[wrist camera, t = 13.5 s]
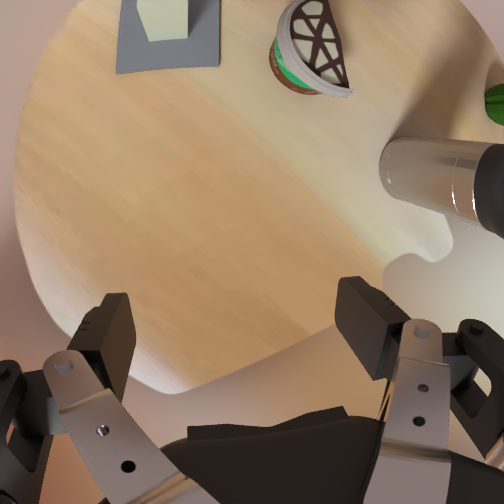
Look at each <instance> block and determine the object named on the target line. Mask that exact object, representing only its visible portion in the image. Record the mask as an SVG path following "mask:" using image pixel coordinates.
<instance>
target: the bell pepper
mask: <svg viewBox="0 0 504 504" xmlns="http://www.w3.org/2000/svg"><path fill="white" fill-rule="evenodd" d="M485 100H486V102H487V104H486V112H487V114H488V116H489V117H490V118H491V119H492V120H493V121H494V122H495V123H497V124H500V125H503V126H504V84H499V85H497V86H494V87H492V88H490V89H489V91H488V92H487V93H486V95H485Z"/></svg>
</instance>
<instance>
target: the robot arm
mask: <svg viewBox="0 0 504 504" xmlns="http://www.w3.org/2000/svg"><path fill="white" fill-rule="evenodd" d="M380 176H381V181H382V183H383V185H384V187H385V189H386V190H387V192H388V193H389V194H390V195H391V196H393V197H395V198H396V199H400V200H403V201H406V202H409V203H412V204H415V205H418V206H421V207H424V208H427V209H430V210H433V211H436V212H439V213H442V214H444V215H447V216H450V217H453V218H456V219H458V220H461V221H464V222H467V223H470V224H472V225H475V226H478V227H480V228H483V229H485V230H488V231H490V232H493V233H495V234H497V235H498V236H500V237H501V238H503V239H504V144H496V143H487V142H477V141H465V140H453V139H438V138H421V137H399V138H396V139H394V140H392V141H391V142H390V143H389V144H388V145H387V146H386V147H385V149H384V151H383V153H382V156H381V160H380ZM335 322H336V326H337V328H338V330H339V331H340V332H341V334H342V335H343V337H344V338H345V340H346V341H347V343H348V344H349V345H350V347H351V349H352V350H353V352H354V353H355V355H356V356H357V357H358V359H359V360H360V362H361V363H362V365H363V366H364V368H365V369H366V371H367V372H368V374H369V375H370V377H371V378H372V380H373V381H375V380H379V379H382V378H386V379H387V382H386V385H385V389H384V393H383V396H382V400H381V404H380V407H379V411H378V414H377V418H376V419H372V418H369V417H362V416H348V415H347V413H346V411H345V410H344V407H343V406H340V407H335V408H330V409H325V410H320V411H315V412H310V413H306V414H304V415H301V416H299V417H296V418H294V419H291V420H288V421H286V422H283V423H280V424H278V425H275V426H272V427H258V426H244V425H234V424H218V425H204V426H188V427H187V433H188V434H187V436H188V437H187V438H183V439H180V440H177V441H174V442H171V443H169V444H167V445H165V446H163V447H161V448H160V449H159V448H158V447H157V446H156V445H155V444H154V443H153V442H152V441H151V439H150V438H149V437H148V436H147V435H146V434H145V433H144V431H143V430H142V429H141V428H140V427H139V425H138V424H137V423H136V422H135V421H134V419H133V418H132V417H131V416H130V414H129V413H128V412H127V410H126V409H125V408H124V407H123V405H122V404H121V403H122V399H123V395H124V390H125V386H126V382H127V377H128V373H129V369H130V365H131V361H132V357H133V353H134V349H135V345H136V331H135V326H134V321H133V317H132V312H131V307H130V302H129V298H128V295H127V293H107V294H106V296H105V297H104V299H103V301H102V303H101V305H100V307H94V308H93V309H91V310H90V311H89V312H88V313H86V315H85V316H84V318H83V320H82V322H81V324H80V325H79V327H78V330H77V331H76V332H75V334H74V336H73V338H72V340H71V342H70V344H69V345H68V347H67V349H66V350H63V351H59V352H57V353H54V354H53V355H51V356H50V357H48V358H47V359H46V361H45V362H44V364H43V369H42V370H36V371H31V372H25V373H23V371H22V370H21V367H20V365H19V364H18V363H17V362H16V361H14V360H3V361H0V504H39V500H40V494H41V488H42V484H43V479H44V474H45V470H46V465H47V461H48V457H49V452H50V448H51V445H52V440H53V437H54V435H56V434H62V433H69V435H70V437H71V439H72V441H73V443H74V445H75V447H76V448H77V450H78V452H79V454H80V455H81V457H82V459H83V461H84V463H85V464H86V466H87V468H88V469H89V471H90V473H91V474H92V476H93V478H94V479H95V481H96V482H97V484H98V486H99V487H100V489H101V490H102V492H103V493H104V495H105V496H106V497H105V498H104V499H103V500H102V501H101V502H100V503H98V504H504V339H503V338H502V337H501V336H500V335H498V334H497V333H496V332H495V331H494V330H492V328H491V327H489V326H488V325H487V324H485V323H484V322H482V321H479V320H475V319H465V320H463V321H461V322H460V325H459V328H458V331H457V333H442V331H441V329H440V328H439V327H438V326H437V325H436V324H434V323H433V322H430V321H428V320H424V319H411V318H410V317H409V316H408V315H407V314H406V313H405V312H404V311H403V310H402V309H400V308H399V307H398V306H397V305H395V303H394V302H393V301H392V300H390V298H389V297H388V296H387V295H386V294H385V293H384V292H382V291H380V290H378V289H376V288H374V287H372V286H370V285H369V284H368V283H367V282H366V281H365V280H364V279H362V278H361V277H360V276H353V277H343V278H341V279H340V280H339V283H338V291H337V299H336V307H335ZM479 368H480V369H481V370H482V371H483V372H484V373H485V374H486V375H487V376H488V377H489V379H490V381H491V386H492V387H491V392H490V394H489V396H488V397H487V396H486V394H485V393H484V392H483V391H482V390H481V388H480V387H479V386H478V385H477V384H476V382H475V381H474V378H475V375H476V373H477V371H478V369H479ZM450 409H451V411H452V412H453V413H454V415H455V416H456V418H457V419H458V421H459V422H460V423H461V425H462V426H463V428H464V429H465V430H466V432H467V433H468V435H469V436H470V438H471V439H472V441H473V442H474V444H475V445H476V446H477V448H478V450H479V451H480V453H481V454H482V456H483V457H484V459H485V463H486V464H485V463H482V462H479V461H476V460H474V459H471V458H468V457H465V456H463V455H460V454H458V453H455V452H452V451H450V450H447V446H448V433H449V416H450ZM11 423H12V424H13V426H14V429H13V432H12V434H11V437H10V440H9V443H8V445H7V441H6V435H7V432H8V429H9V426H10V424H11Z"/></svg>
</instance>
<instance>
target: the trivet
mask: <svg viewBox="0 0 504 504" xmlns="http://www.w3.org/2000/svg"><path fill="white" fill-rule="evenodd" d="M219 2H220V0H188V38H183V39H170V40H160V41H150V42H149V40H148V37H147V34H146V32H145V29H144V26H143V24H142V21H141V18H140V15H139V13H138V10H137V0H122V4H121V12H120V21H119V32H118V44H117V59H116V74H123V73H131V72H139V71H148V70H159V69H172V68H188V67H218V66H219Z"/></svg>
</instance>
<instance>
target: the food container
mask: <svg viewBox="0 0 504 504" xmlns="http://www.w3.org/2000/svg"><path fill="white" fill-rule="evenodd" d="M269 61H270V66H271V69H272V71H273V73H274V74H275V76H276V77H277V79H278V80H279V81H280V82H281V83H282V84H283V85H285V86H286V87H288V88H289V89H291V90H293V91H295V92H298V93H302V94H307V95H316V94H327V95H330V96H335V97H346V98H347V97H348V96H349V95H351V94H352V91H354V90H355V89H349V82H348V79H347V75H346V71H345V66H344V60H343V54H342V47H341V41H340V37H339V34H338V31H337V28H336V26H335V23H334V20H333V17H332V13H331V10H330V6H329V3H328V0H296V1H294V2H292V3H291V4H290V5H289V6H288V7H287V8H286V9H285V10H284V12H283V13H282V15H281V17H280V19H279V22H278V26H277V37H276V38H275V40H274V42H273V44H272V46H271V48H270V54H269Z"/></svg>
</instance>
